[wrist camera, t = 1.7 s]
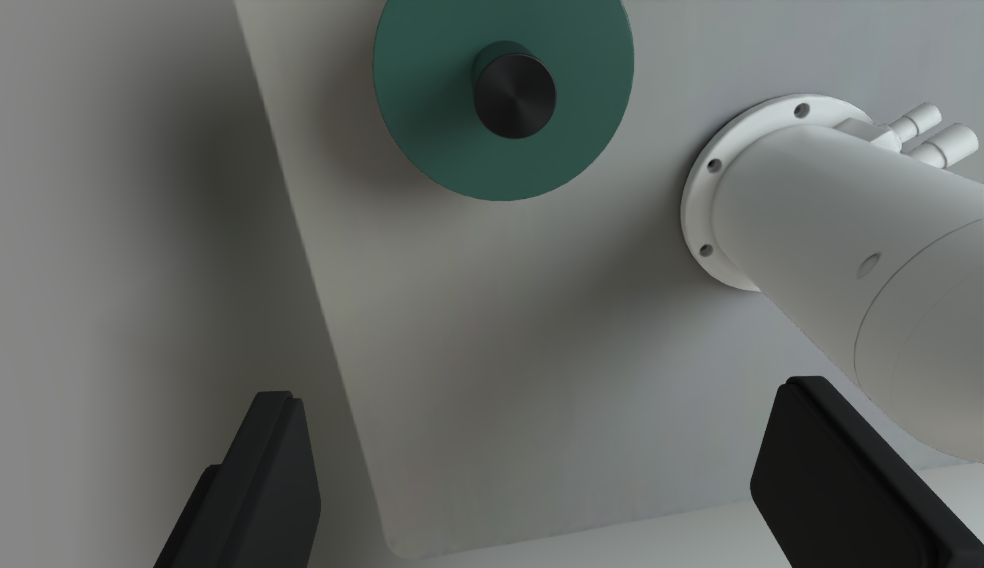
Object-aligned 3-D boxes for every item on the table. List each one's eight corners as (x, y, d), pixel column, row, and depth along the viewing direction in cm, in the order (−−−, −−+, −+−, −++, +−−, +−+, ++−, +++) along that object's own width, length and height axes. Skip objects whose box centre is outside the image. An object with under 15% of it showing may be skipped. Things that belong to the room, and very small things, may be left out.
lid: (469, -143, 23) (472, -190, 17) (679, 39, 26) (744, 53, 20) (330, 106, 27) (293, 140, 21) (528, 234, 30) (545, 295, 24)
